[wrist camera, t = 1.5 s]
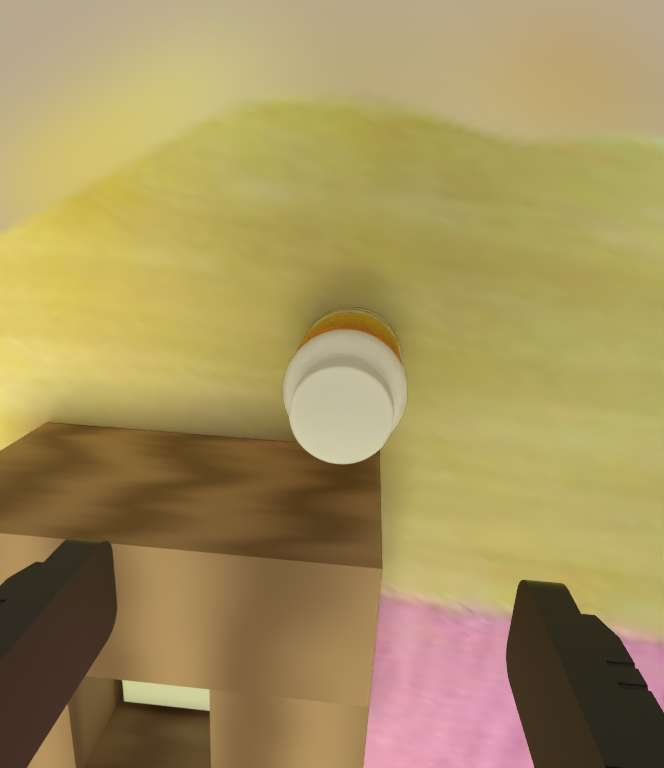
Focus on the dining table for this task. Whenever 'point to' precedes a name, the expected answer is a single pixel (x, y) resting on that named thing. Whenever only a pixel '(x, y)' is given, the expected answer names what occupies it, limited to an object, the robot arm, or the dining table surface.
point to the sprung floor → (166, 695)
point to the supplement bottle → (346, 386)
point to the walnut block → (209, 593)
